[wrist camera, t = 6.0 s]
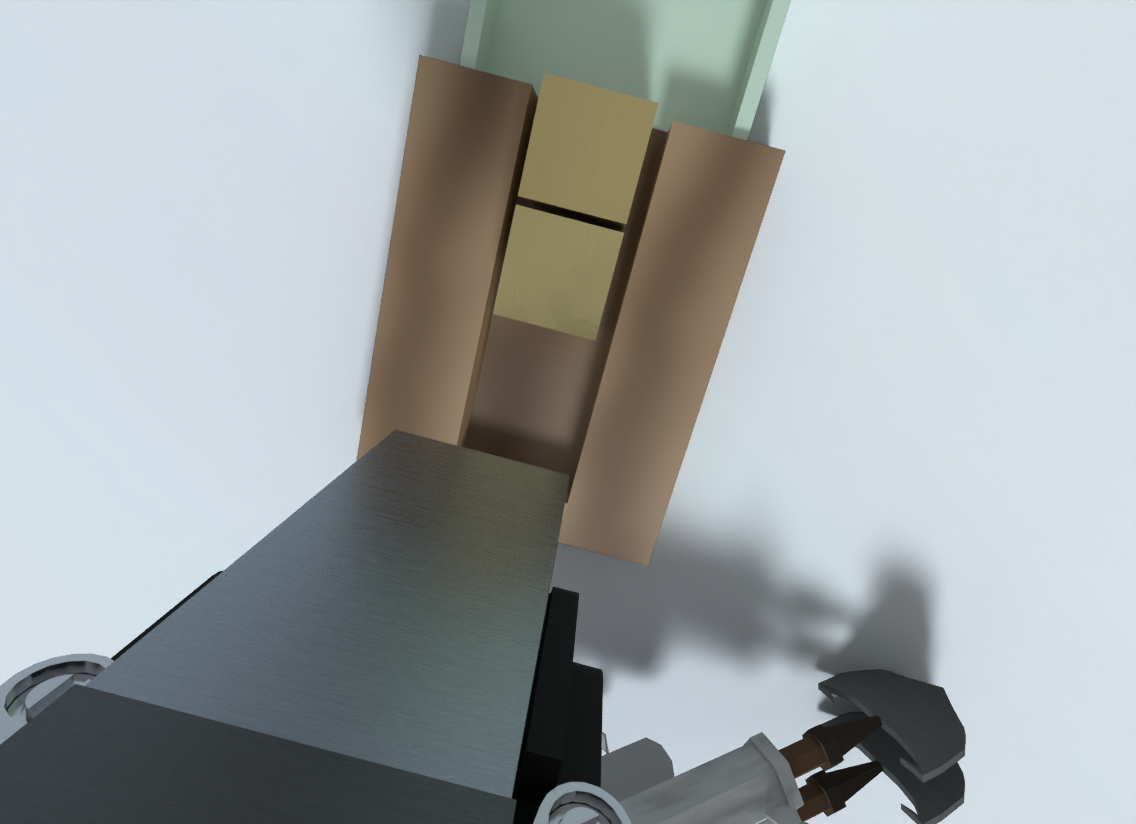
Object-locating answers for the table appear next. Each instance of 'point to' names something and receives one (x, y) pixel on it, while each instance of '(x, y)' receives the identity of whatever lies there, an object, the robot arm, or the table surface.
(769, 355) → the table surface
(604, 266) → the olive yellow cube
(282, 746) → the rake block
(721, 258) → the slot board
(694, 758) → the table surface
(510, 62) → the tray
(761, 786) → the gun
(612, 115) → the tan wooden cube
